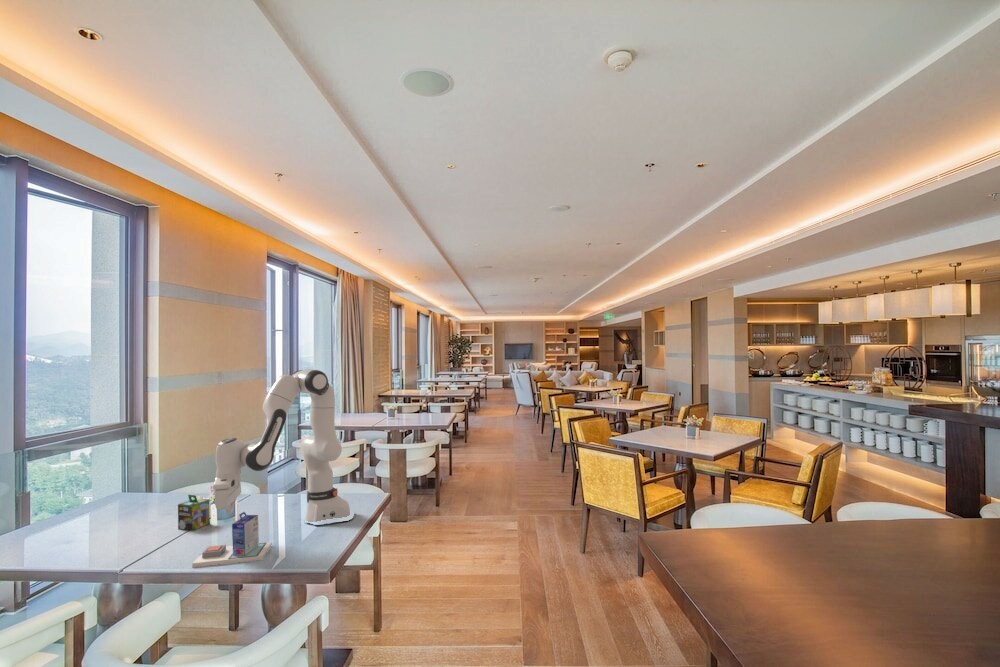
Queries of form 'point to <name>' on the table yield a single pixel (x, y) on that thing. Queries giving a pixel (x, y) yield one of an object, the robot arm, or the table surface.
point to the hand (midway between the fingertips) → (229, 512)
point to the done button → (214, 548)
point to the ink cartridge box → (245, 534)
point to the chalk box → (193, 514)
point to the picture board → (230, 555)
